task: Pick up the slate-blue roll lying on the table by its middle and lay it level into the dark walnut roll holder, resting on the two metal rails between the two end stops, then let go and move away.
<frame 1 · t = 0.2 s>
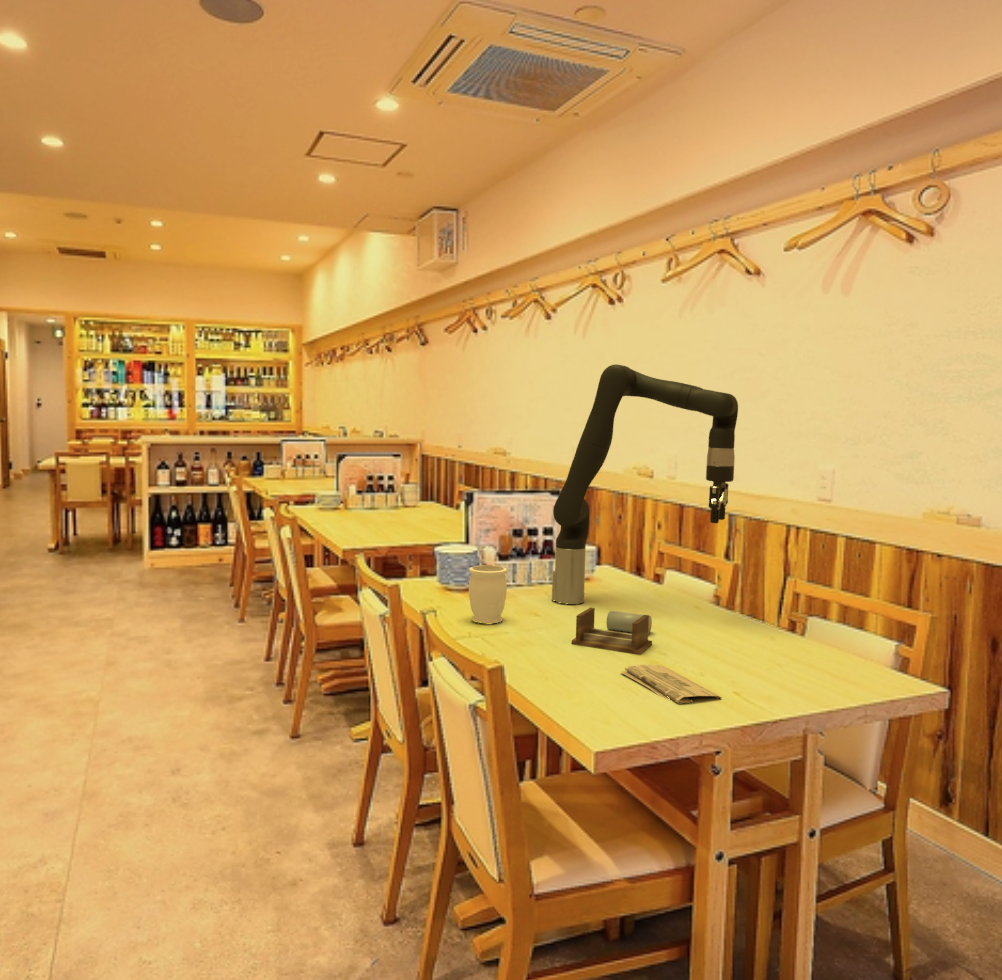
hand: (717, 521, 226), 29 cm above the table, tool pointing down, fingers open, 8 cm apart
newspaper: (668, 689, 172), on the table
roll: (628, 632, 216), on the table
holder: (611, 644, 203), on the table
jar: (487, 621, 224), on the table
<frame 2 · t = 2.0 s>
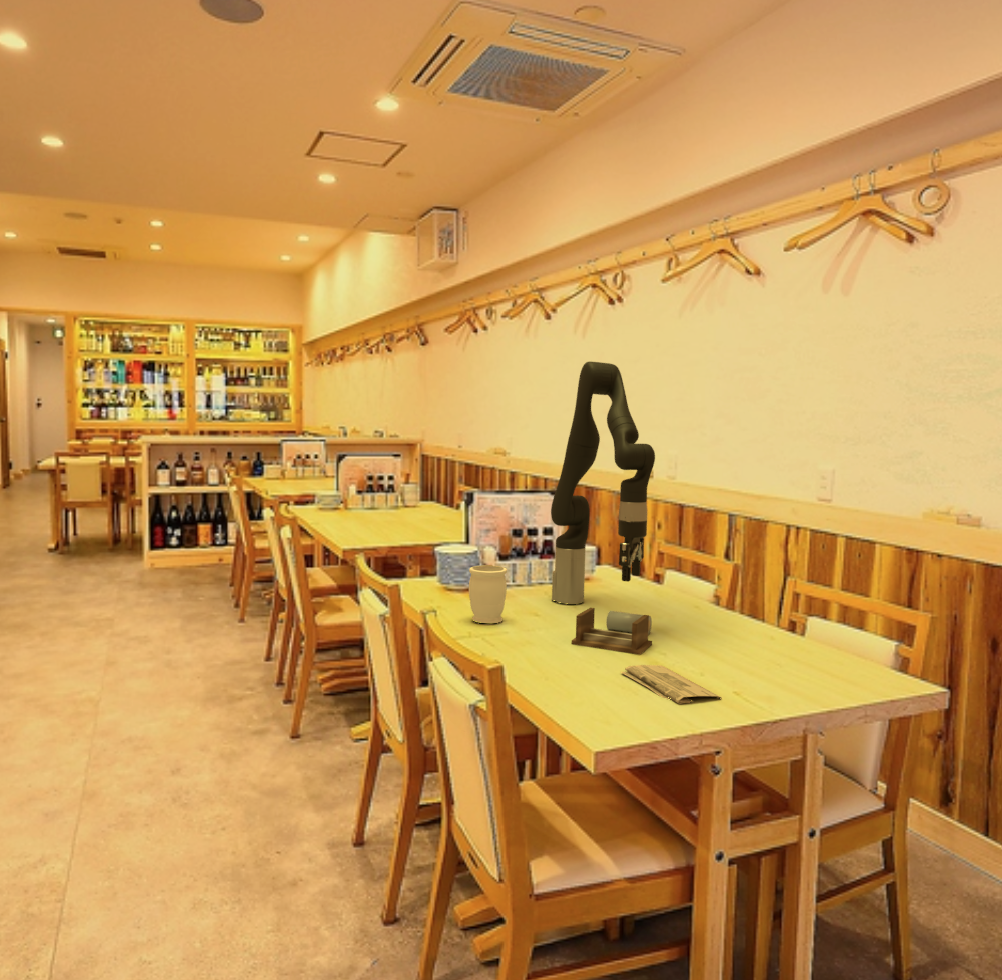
hand: (631, 578, 214), 15 cm above the table, tool pointing down, fingers open, 8 cm apart
nothing on the table moved.
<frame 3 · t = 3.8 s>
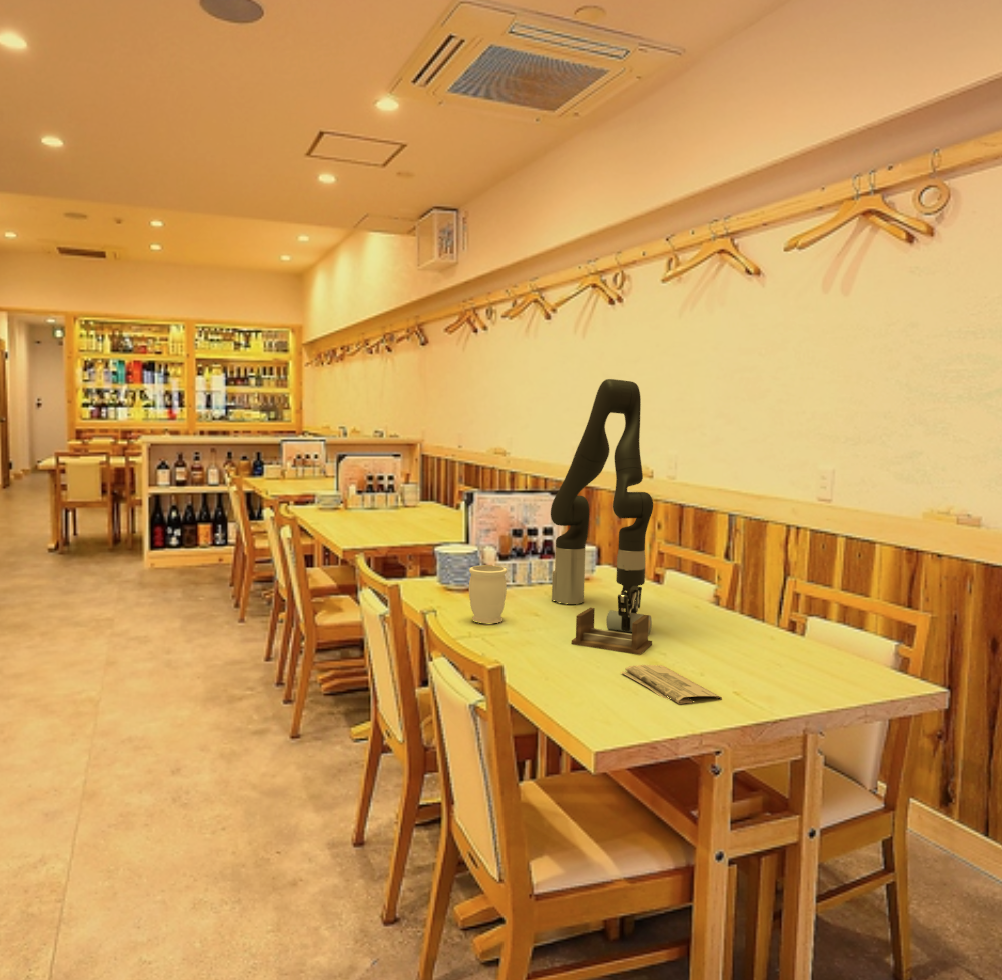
hand: (628, 627, 215), 1 cm above the table, tool pointing down, fingers closed on roll, 5 cm apart
roll: (628, 631, 216), on the table, touching gripper
everything else where it was.
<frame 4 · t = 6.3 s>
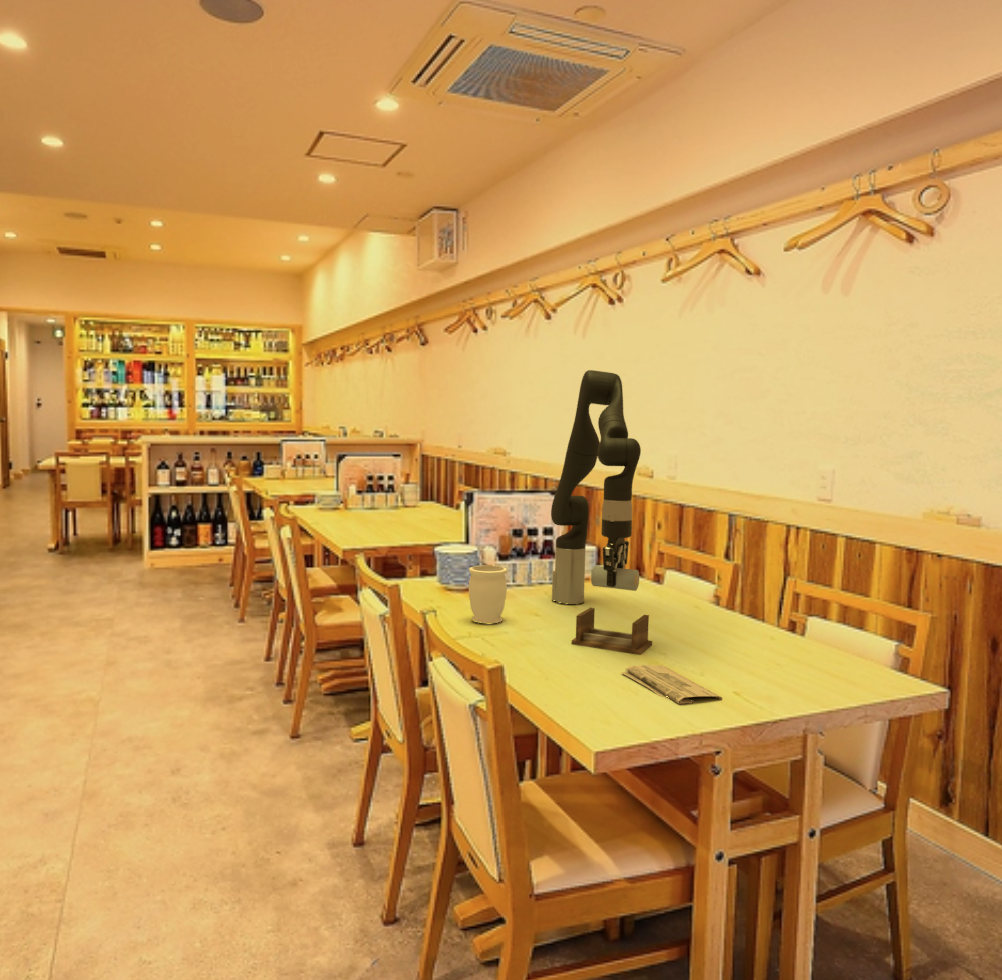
hand: (614, 584, 202), 16 cm above the table, tool pointing down, fingers closed on roll, 5 cm apart
roll: (614, 588, 202), point 15 cm above the table, touching gripper
everything else where it was.
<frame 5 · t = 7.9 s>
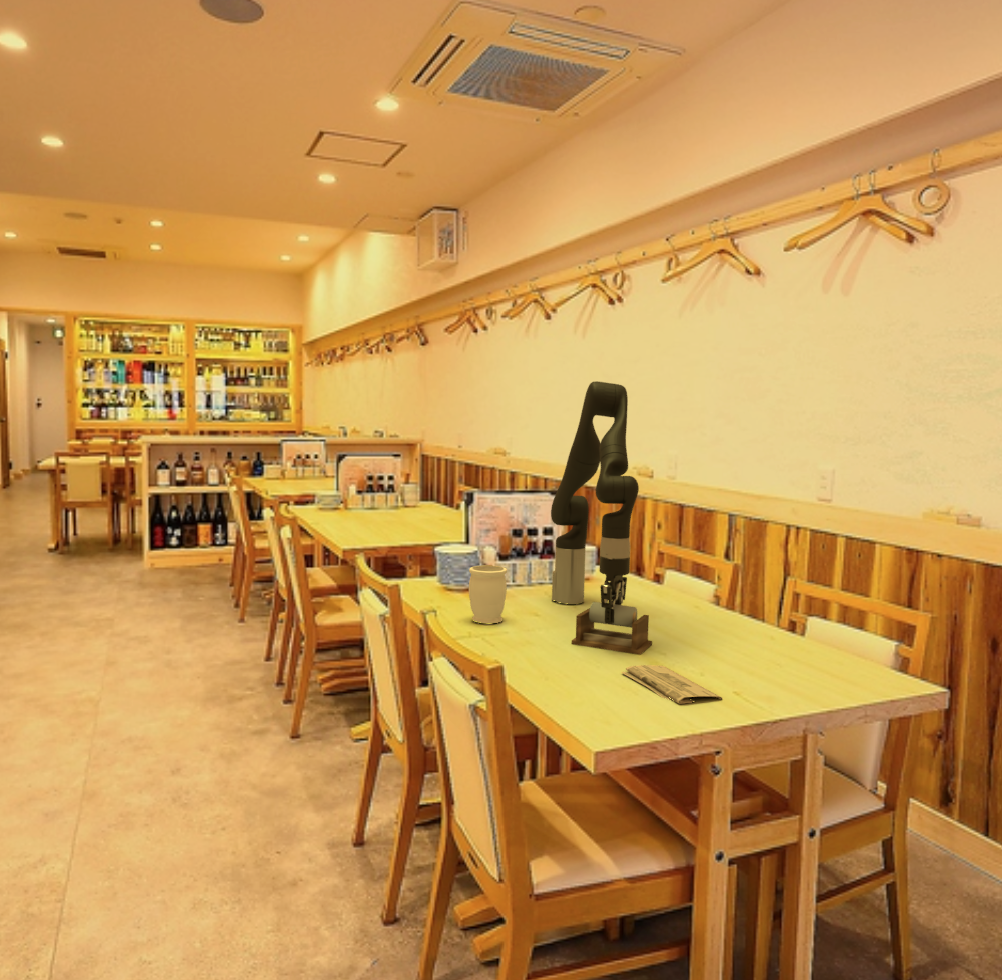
hand: (612, 620, 203), 6 cm above the table, tool pointing down, fingers closed on roll, 5 cm apart
roll: (613, 624, 203), point 5 cm above the table, touching gripper
everything else where it was.
when the fingers open (4 cm above the table, at t = 9.2 s): roll drops 1 cm, resting on holder.
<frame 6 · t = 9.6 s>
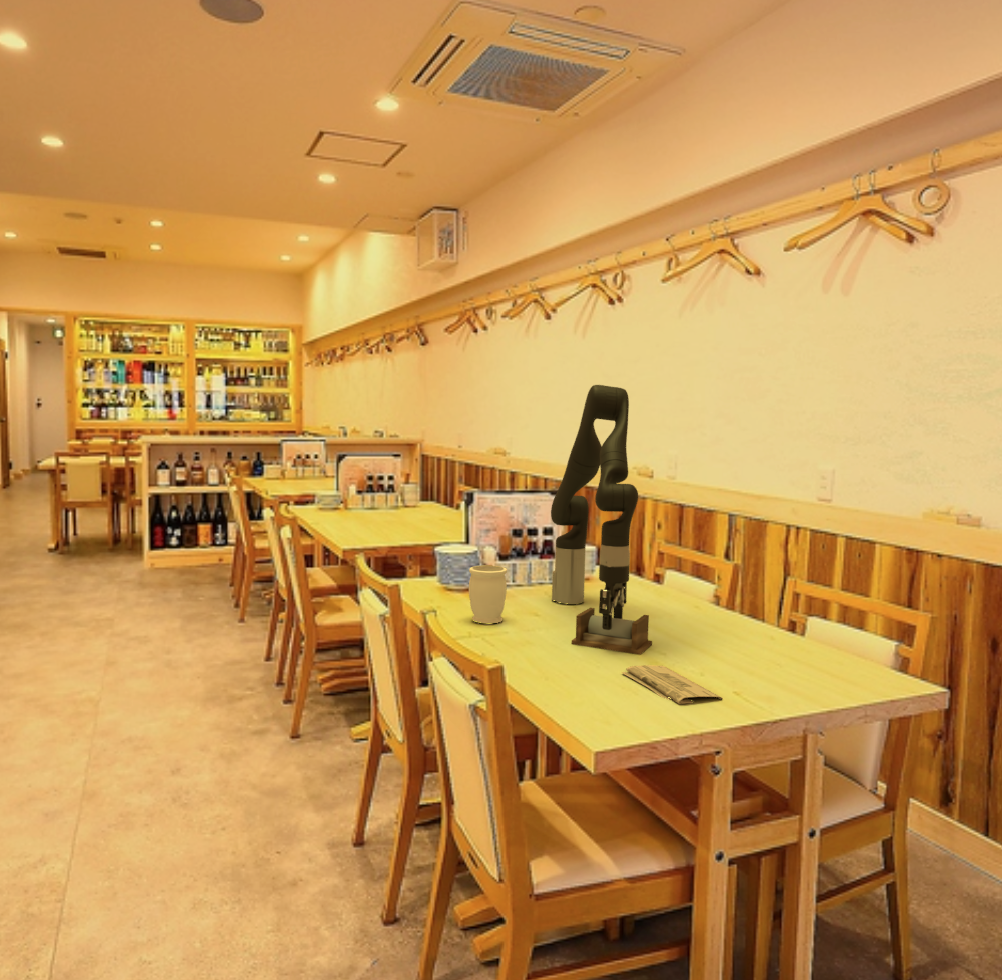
hand: (612, 625, 203), 5 cm above the table, tool pointing down, fingers open, 8 cm apart
roll: (612, 637, 203), point 2 cm above the table, touching holder
everything else where it was.
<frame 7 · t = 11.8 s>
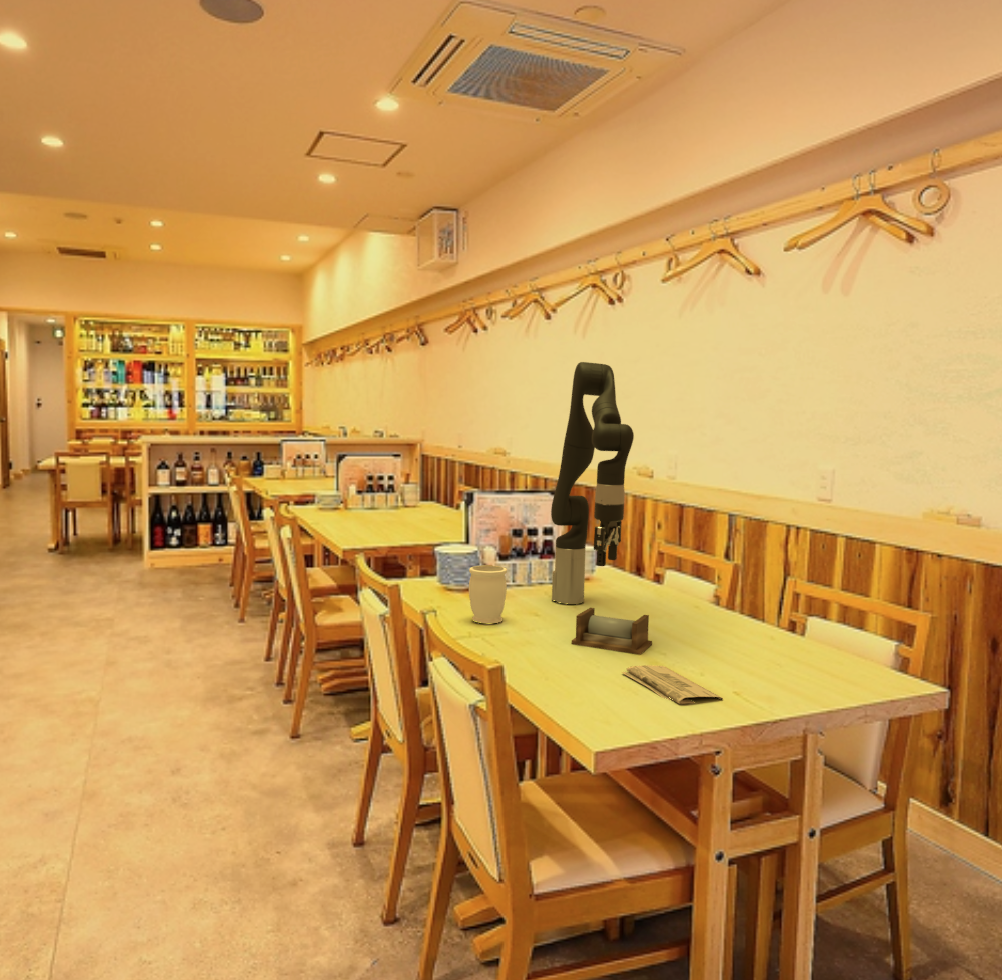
hand: (606, 562, 208), 20 cm above the table, tool pointing down, fingers open, 8 cm apart
nothing on the table moved.
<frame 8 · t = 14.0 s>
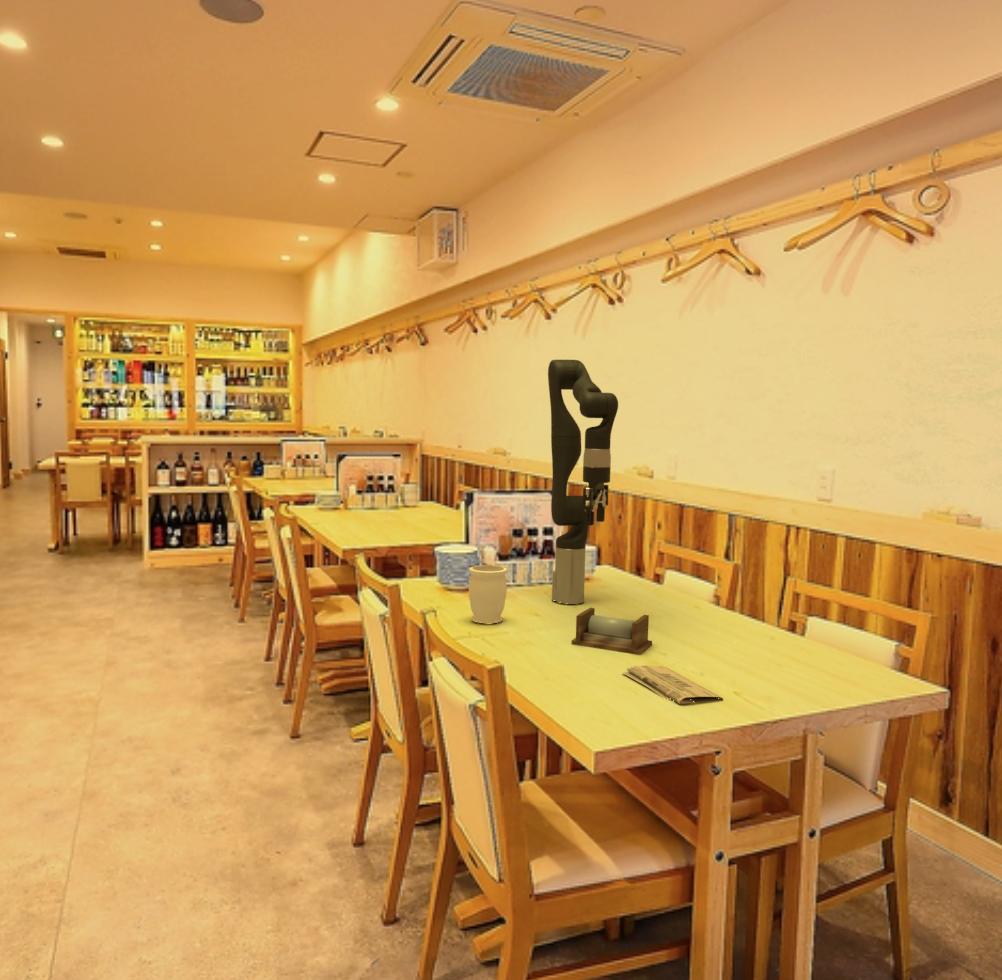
hand: (595, 523, 222), 28 cm above the table, tool pointing down, fingers open, 8 cm apart
nothing on the table moved.
at the end: roll 0.1 cm off-centre on the holder, point 1.6 cm above the holder's base; roll tilted 3°; the gripper is holding nothing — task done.
